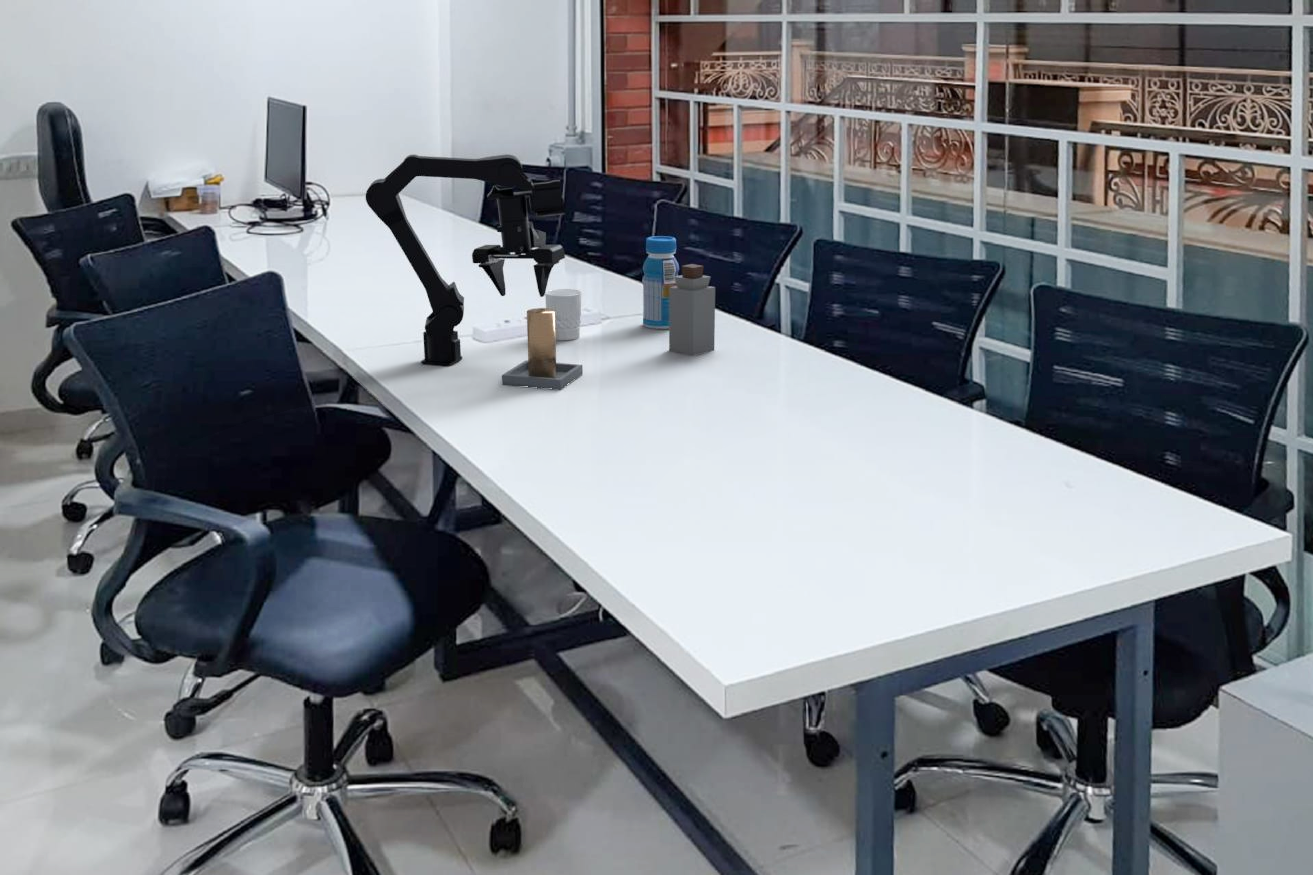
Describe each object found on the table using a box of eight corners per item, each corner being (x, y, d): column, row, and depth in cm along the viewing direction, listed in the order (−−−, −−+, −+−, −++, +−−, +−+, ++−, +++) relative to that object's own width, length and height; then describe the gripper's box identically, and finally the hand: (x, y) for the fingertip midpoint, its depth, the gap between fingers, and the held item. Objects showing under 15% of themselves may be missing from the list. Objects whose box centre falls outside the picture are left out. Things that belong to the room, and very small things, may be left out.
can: (523, 376, 269) (521, 310, 265) (546, 371, 273) (544, 307, 269) (538, 382, 265) (536, 315, 261) (561, 377, 268) (560, 311, 264)
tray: (502, 385, 265) (501, 375, 265) (526, 370, 276) (525, 360, 276) (560, 390, 262) (560, 380, 261) (582, 374, 273) (582, 364, 272)
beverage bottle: (639, 329, 311) (639, 240, 305) (645, 321, 319) (645, 234, 313) (676, 330, 310) (676, 241, 304) (682, 322, 318) (682, 235, 311)
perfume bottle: (714, 350, 292) (715, 265, 287) (692, 355, 288) (693, 270, 282) (690, 344, 297) (691, 261, 291) (669, 350, 292) (669, 266, 287)
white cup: (563, 331, 309) (562, 287, 306) (589, 336, 304) (588, 291, 301) (538, 337, 303) (537, 292, 300) (565, 343, 298) (564, 297, 295)
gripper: (574, 212, 278) (581, 288, 283) (495, 213, 286) (504, 286, 291) (546, 222, 269) (555, 300, 274) (466, 222, 277) (475, 298, 282)
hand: (522, 296), depth 280 cm, fingers open, 9 cm apart
